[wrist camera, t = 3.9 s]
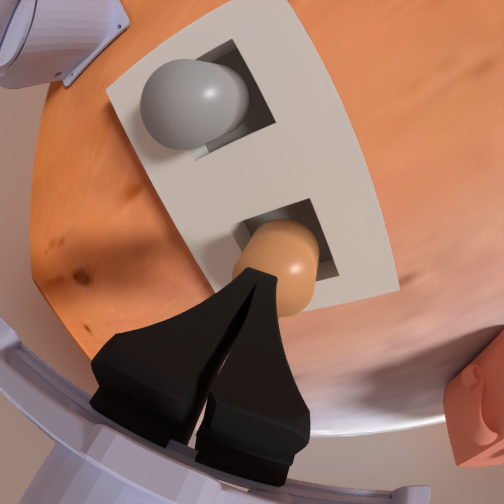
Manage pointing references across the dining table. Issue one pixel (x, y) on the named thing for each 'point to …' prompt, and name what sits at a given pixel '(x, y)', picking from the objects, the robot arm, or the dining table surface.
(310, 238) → the tan button
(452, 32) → the dining table surface
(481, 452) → the teapot
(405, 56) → the dining table surface
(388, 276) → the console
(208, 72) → the grey button
